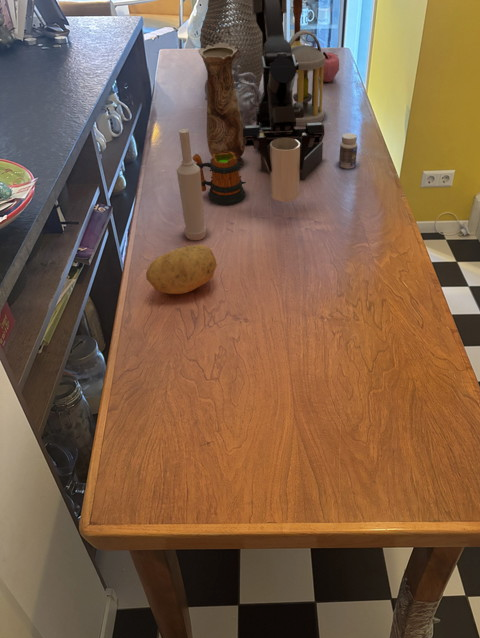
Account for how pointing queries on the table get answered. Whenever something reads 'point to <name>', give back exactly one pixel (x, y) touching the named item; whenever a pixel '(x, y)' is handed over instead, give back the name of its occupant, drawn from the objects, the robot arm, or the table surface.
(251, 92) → the ornament
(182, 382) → the table surface
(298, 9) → the handbell
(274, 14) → the robot arm
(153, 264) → the potato
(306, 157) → the bin
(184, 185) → the bottle
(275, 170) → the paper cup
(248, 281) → the table surface
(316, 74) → the lantern
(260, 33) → the vase
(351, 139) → the pill bottle
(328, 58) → the apple
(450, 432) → the table surface
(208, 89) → the vase
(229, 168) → the mug
